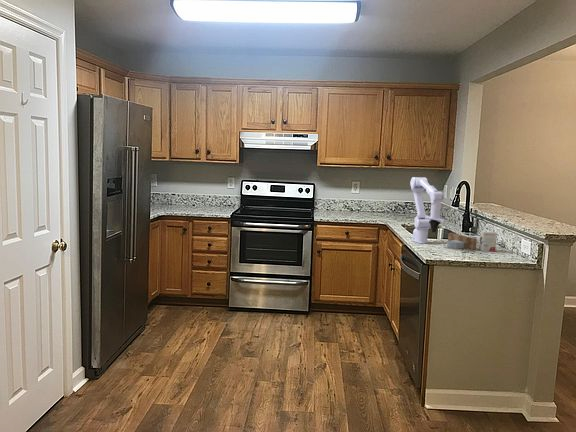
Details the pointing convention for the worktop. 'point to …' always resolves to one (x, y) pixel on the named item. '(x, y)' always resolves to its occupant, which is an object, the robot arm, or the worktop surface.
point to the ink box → (487, 241)
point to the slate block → (455, 244)
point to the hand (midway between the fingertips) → (433, 232)
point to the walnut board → (464, 240)
